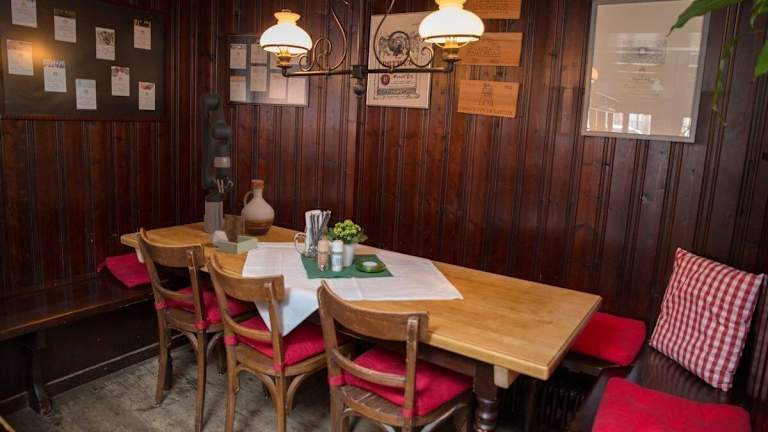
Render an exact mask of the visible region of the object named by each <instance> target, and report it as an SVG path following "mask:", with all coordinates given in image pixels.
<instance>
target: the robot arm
mask: <svg viewBox="0 0 768 432" xmlns="http://www.w3.org/2000/svg"><path fill="white" fill-rule="evenodd" d="M199 98H200V99H199V107H200V119H201V157H202V158H201V159H202V160H201V162H202V163H201V186H202V189H203V190H215V191H214V192H212V193H210V194H207V195H205V197H204V204H205V205H204V208H205V211H204V212H205V214H203V220H204V221H203V222H204V223H203V225H204V227H203V228H204V230H203V231H204V233H205V232H206V233H208V234H213V233H214V232H215V231H216V230H217V231H224V217H223V216H224V212H223V210H224V209H223V206H224V205H223V204H224V203H223V201H226V200H227V193H228V192H230V191H231V189H232V187H233V186H234V185H235V182H232V181H231V159H230V157H231V156H230V148H231V142H232V139H233V135H234V134H233V133H234V130H233V128H232V127H231V125H227V122H226V118H225V114H224V113H225V112H224V105H223V98H222V97H221V95H220V94H218V93H201V94H200V97H199ZM208 112H212V113H211V115H210V117H209V115H208ZM209 118H210V119H209ZM222 140H223V141H224V142H222V143H221V144H220V141H222ZM213 160H214V171H212V172H211V171H209V170H210V166H211V163H212V162H213Z"/></svg>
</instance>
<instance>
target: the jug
mask: <svg viewBox="0 0 768 432" xmlns="http://www.w3.org/2000/svg"><path fill="white" fill-rule="evenodd" d="M250 181H251V189H252V190H249V191H248V192H247V193H246V194H245V195H244V196H243V197H244V198H243V208H242V210H241V214H240V216H242V217H245V231H247V232H248V234H250V236H252V237H253V236H255V237H261V236H265V235H266V234H267V233H268V232H269V231H270V229H271V228H272V225H273V223H274V220H275V211H274V209H273V207H272V206H271V205H270V204H269V203H267V201H266V200H265V199H264V198H263V190H264V183H265V180H262V179H252V180H250ZM250 194H252V195H253V196H252V199H251V200H249V202H248V203H247V199H248V198H249V196H250Z"/></svg>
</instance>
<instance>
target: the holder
mask: <svg viewBox="0 0 768 432" xmlns="http://www.w3.org/2000/svg"><path fill="white" fill-rule="evenodd" d="M258 240H259V239H258V237H253V236H251V237H250V236H246V235H245V236H240V235H239V236H238V243H233V242H225V241H218V247H217V249H218V252H219V253H226V254H227V253H228V254H233V255H240V254H244V253H246V252H249V251H253V250H255V248H256V249H258V248H259V247H258V242H259V241H258ZM252 249H253V250H252Z"/></svg>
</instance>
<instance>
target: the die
mask: <svg viewBox="0 0 768 432" xmlns="http://www.w3.org/2000/svg"><path fill="white" fill-rule="evenodd" d="M208 239H209V241H210V243H211V246H212V247H215V248H218V241H225V242H228V239H227V236H226V234H225V230H223V231H217V230H216V231H215V232H214V233H211V234H210V235H209V236H208Z"/></svg>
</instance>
